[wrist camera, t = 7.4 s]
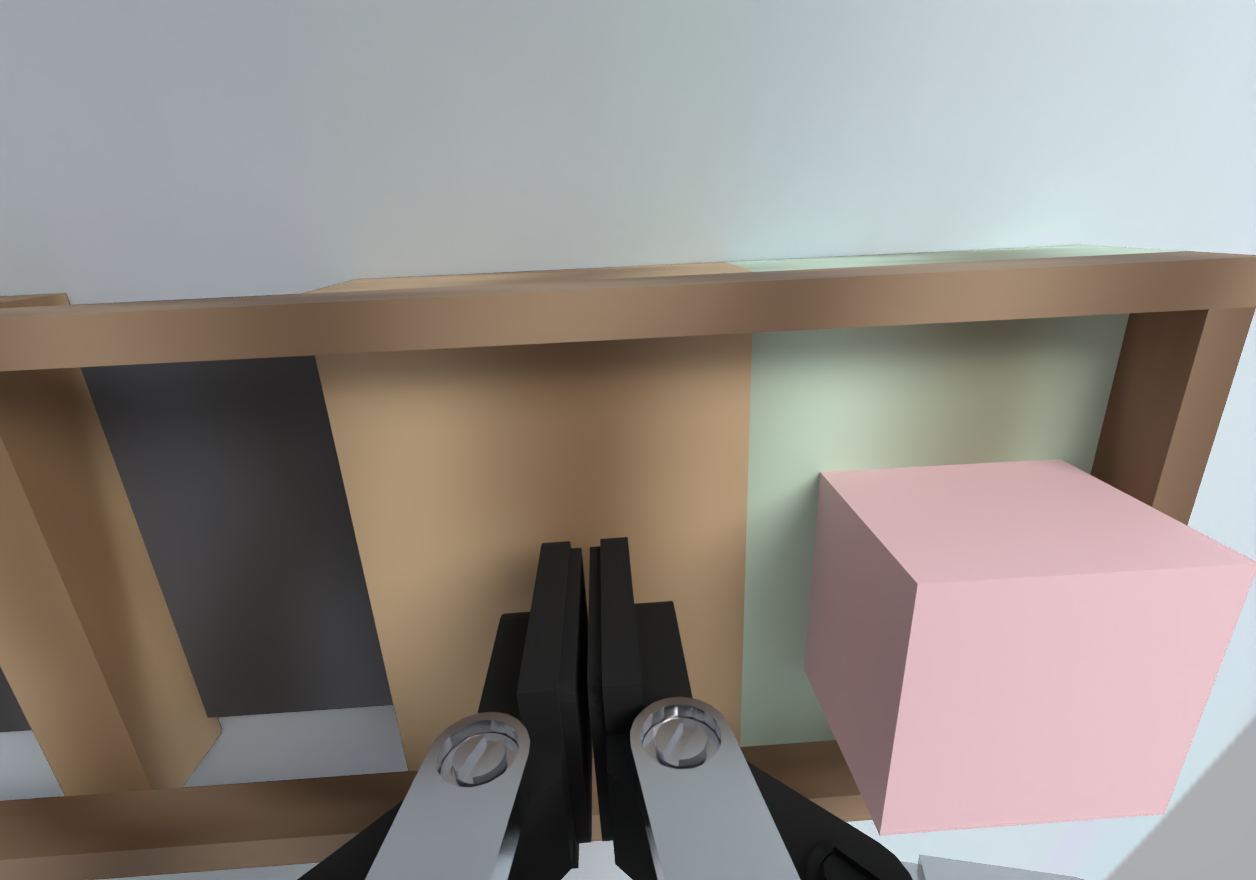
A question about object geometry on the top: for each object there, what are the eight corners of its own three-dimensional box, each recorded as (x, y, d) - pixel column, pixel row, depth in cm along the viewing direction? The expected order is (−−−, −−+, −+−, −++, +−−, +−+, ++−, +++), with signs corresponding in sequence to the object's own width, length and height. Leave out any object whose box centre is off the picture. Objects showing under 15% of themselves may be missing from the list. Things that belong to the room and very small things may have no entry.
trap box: (-150, 757, 17) (-366, 914, 13) (-435, 316, 12) (-878, 360, 9) (993, 677, 18) (1100, 802, 14) (1083, 244, 13) (1272, 256, 10)
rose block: (820, 472, 12) (918, 584, 9) (1060, 458, 12) (1258, 563, 9) (804, 670, 14) (879, 835, 10) (1014, 656, 14) (1164, 813, 10)
